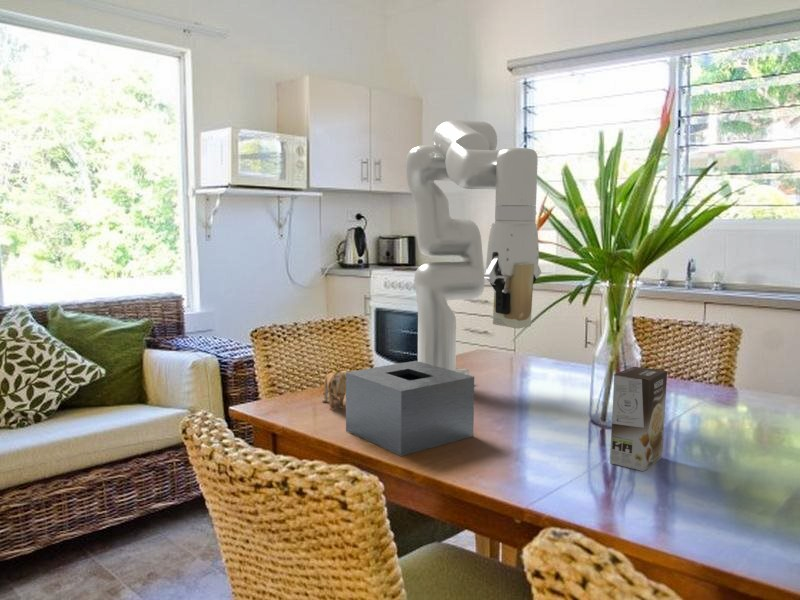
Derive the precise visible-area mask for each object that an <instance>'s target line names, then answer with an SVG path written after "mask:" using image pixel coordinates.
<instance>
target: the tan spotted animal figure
mask: <svg viewBox="0 0 800 600" xmlns="http://www.w3.org/2000/svg"><path fill="white" fill-rule="evenodd" d="M346 372H348V371H347V370H340V371H337V372H330V373H328V374H326V376H325V378H324V382H323V383H324V386H323V387H324V392H323V393H322V395H323V399H322V403H328V398H329V410H330V411H334V410H335V409H336V405H335V399H337V398H339V403H338V407H339V408H341V409H346V404H344V399H345V397H346ZM328 396H329V397H328Z"/></svg>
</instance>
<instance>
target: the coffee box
mask: <svg viewBox="0 0 800 600" xmlns="http://www.w3.org/2000/svg"><path fill="white" fill-rule="evenodd" d="M613 376H614V378H613V392H612V393H613V394H612V395H613V396H612V412H611V414H612V415H611V429H610V430H611V431H610V432H611V434H610V450H609V451H610V453H609V463H610V464H613V465H616V466H620V467H624V468H629V469H633V470H637V471H641V472H645V471H646V470H648V469H649V468H650V467H651V466H653V465H654V464H656V463H657V462H658V461H660V460H661V459H662V458H663V448H664V432H665V415H666V398H667V397H666V396H667V383H668V382H667V380H668V370H663V369H656V368H649V367H640V366H632V367H629V368H626V369H623V370H622V371H619V372H617V373H614V374H613Z"/></svg>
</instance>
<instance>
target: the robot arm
mask: <svg viewBox="0 0 800 600" xmlns="http://www.w3.org/2000/svg"><path fill="white" fill-rule="evenodd" d="M432 141H433V144H425V145H424V144H423V145H418V146H414V147H413V148H412V149H410V150H409V152H408V153H407V156H406V158H405V178H406V181H407V185H408V188H409V191H410V193H411V196H412V200H413V204H414V214H415V227H416V239H417V245H418V246H417V247H418V250H419V252H420V254H422V255H423V256H425V257H430V258H456V257H457V258H458V259H459V261H430V262H426V263H423V264H420V266H418V267H417V269H416V270H415V272H414V276H413V277H414V280H413V281H414V287H415V288H414V289H415V295H416V300H417V301H416V302H417V361H419V362H422V363H426V364H430V365H433V366H437V367H441V368H444V369H448V370H452V371H455V372H459V373H463V374H466V375H470V371H469V369H468V368H461V369H460V368H457V367H456V363H457V362H456V360H457V359H456V357H457V356H456V355H457V353H456V352H457V350H456V349H457V319H456V315H455V312H454V311H453V310H452V308H451V307H450V305H449V304H448V302H449V301H456V300H457V301H459V300H475V299H477V298H479V297H481V296H482V294H483V292H484V290H485V282H486V281H485V280H487V281H488V282H489V284H490V285H491V287H492V291H493V293H494V292H496V307H495V311H496V313H501V314H509V313H510V293H507V292H508V289H509V284H510V280H511V277H513V276H514V275H515V270H516V264H523V263H533V264H534V276H533V285H534V284H535V282H537V281H536V280H537V279H538V278H539V277H540V276H541V274H542V270H541V268H540V266H539V261H540V260H539V255H540V254H539V250H540V249H539V235H538V234H539V233H538V225H537V223H536V221H537V218H536V216H537V191H538V190H537V189H538V188H537V187H538V163H539V162H538V159H539V158H538V154H537V152H536V151H535V150H534V149H532V148H527V147H510V148H503V149H501V150H496V149H497V145H498V135H497V132H496V129H495V128H494V126H493V125H491V124H490V123H488V122H486V121H480V120H479V121H477V120H476V121H475V120H462V119H461V120H460V119H459V120H454V119H452V120H446V121H444V122H442V123H441V124H439V125H438V126H437V127H436V129H435V130H434V131H433V137H432ZM434 181H444V182H447V181H449V182H453V183H454V184H456V185H458V186H459V187H460V188H463V189H467V190H495V206H494V208H495V209H494V211H495V212H494V222H493V223H491V227H490V231H489V235H488V241H487V251H486V252H487V253H486V271H485V267H484V266H485V265H484V256H483V246H482V245H483V243H482V237H481V236H482V235H481V231H480V228H479V226H478V225H477V224H476V222H474V221H472V220H471V219H466V218H452V217H451V216H450V207H449V206H450V205H449V200H448V198H447V195H446V194H445V192H444V191H443V189H441V188H440V186H439V185H437V184H436V182H434ZM496 272H497V273H496ZM501 274H502V275H501ZM502 279H504V282H503V283H502V282H501V280H502Z"/></svg>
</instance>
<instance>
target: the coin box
mask: <svg viewBox="0 0 800 600" xmlns="http://www.w3.org/2000/svg"><path fill="white" fill-rule="evenodd" d="M345 406H346V407H345V431H346V432H349V433H350V434H353V435H355V436H356V437H360V438H362V439H364V440H365V441H367V442H369V443H372V444H374V445H376V446H378V447H381V448H382V449H384V450H387V451H389V452H391V453H393V454H396V455H398V456H400V457H402V456H406V455H410V454H414V453H417V452H422V451H425V450H428V449H432V448H436V447H440V446H442V445H447V444H451V443H454V442H455V443H456V442H458V441H461V440H462V441H463V440H465V439H468V438H473V437H474V426H475V425H474V419H475V418H474V417H475V414H474V413H475V410H474V409H475V376H473V375H470V374H469V375H466V374H463V373H459V372H455V371H452V370H448V369H444V368H441V367H437V366H433V365H430V364H426V363H422V362H419V361H418V360H413V361H407V362H400V363H393V364H389V365H388V364H387V365H381V366H377V367H370V368H364V369H359V370H358V369H357V370H352V371H347V372H346V393H345Z"/></svg>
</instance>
